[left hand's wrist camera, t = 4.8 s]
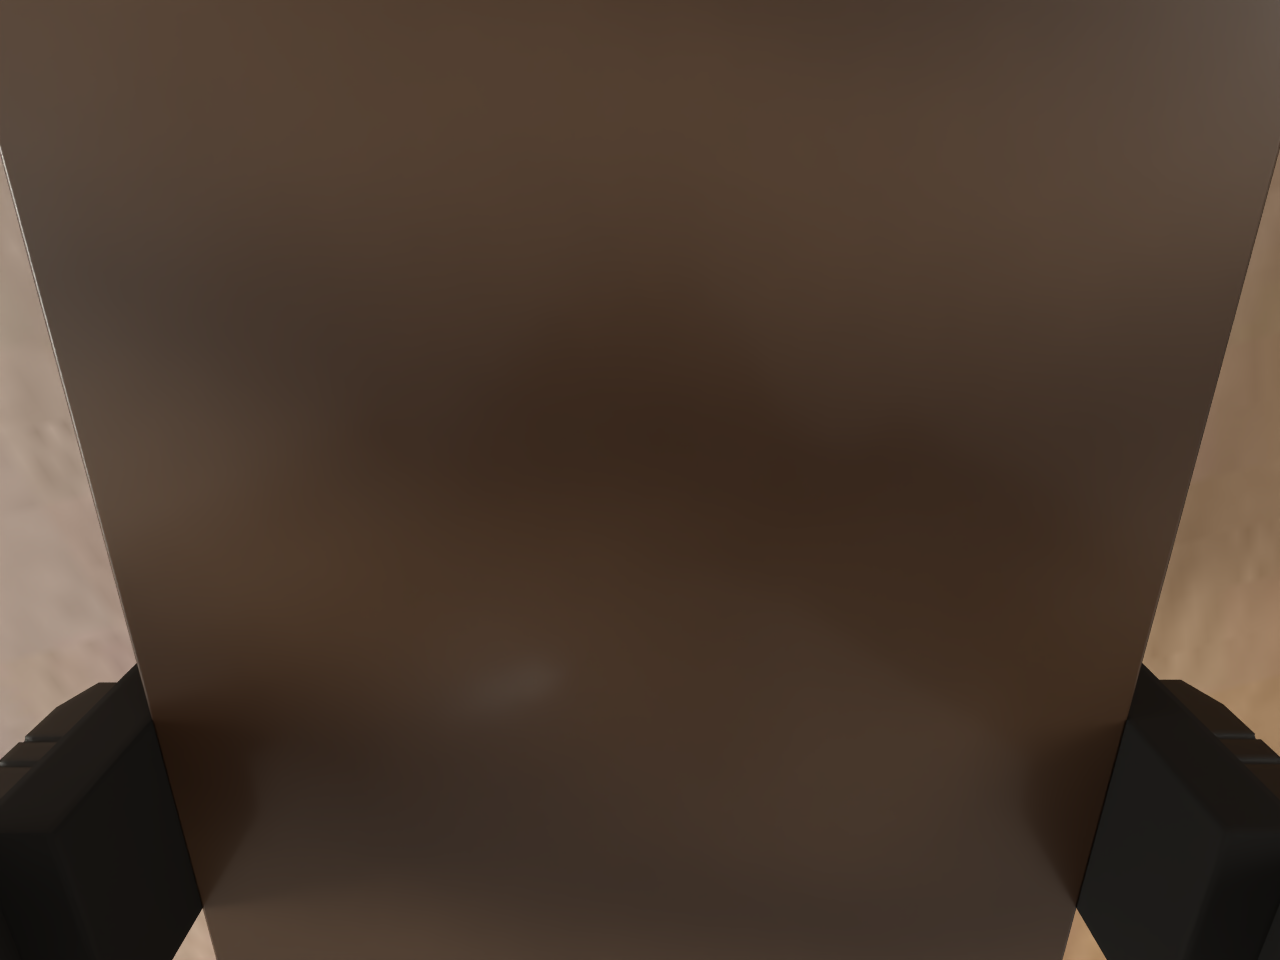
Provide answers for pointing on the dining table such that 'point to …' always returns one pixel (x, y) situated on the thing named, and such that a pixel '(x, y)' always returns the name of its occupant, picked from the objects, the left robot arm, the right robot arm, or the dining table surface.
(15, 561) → the dining table surface
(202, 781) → the cabinet
